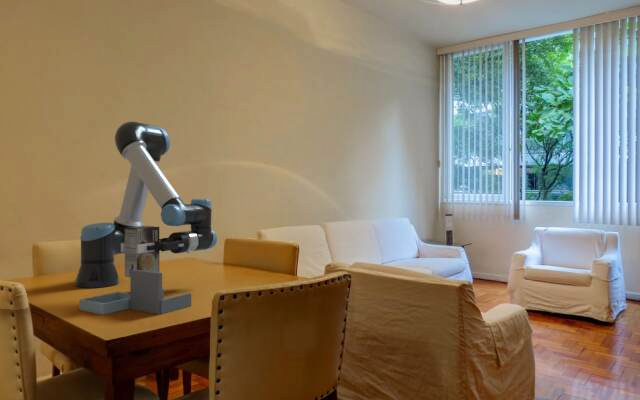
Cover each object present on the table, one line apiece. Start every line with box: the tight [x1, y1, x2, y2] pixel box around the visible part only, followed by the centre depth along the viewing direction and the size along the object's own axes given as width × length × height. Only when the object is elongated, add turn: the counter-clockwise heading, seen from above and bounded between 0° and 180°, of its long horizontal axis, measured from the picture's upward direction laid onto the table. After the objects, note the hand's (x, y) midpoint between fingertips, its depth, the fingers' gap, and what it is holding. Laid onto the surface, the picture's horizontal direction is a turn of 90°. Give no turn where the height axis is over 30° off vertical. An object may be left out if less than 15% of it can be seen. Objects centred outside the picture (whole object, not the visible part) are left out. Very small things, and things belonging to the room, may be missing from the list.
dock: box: [129, 269, 192, 315], centre depth 145 cm, size 13×13×12 cm
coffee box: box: [124, 225, 160, 278], centre depth 153 cm, size 9×6×16 cm
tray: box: [79, 291, 130, 316], centre depth 144 cm, size 11×14×3 cm
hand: (129, 248), depth 149 cm, fingers closed on coffee box, 7 cm apart
